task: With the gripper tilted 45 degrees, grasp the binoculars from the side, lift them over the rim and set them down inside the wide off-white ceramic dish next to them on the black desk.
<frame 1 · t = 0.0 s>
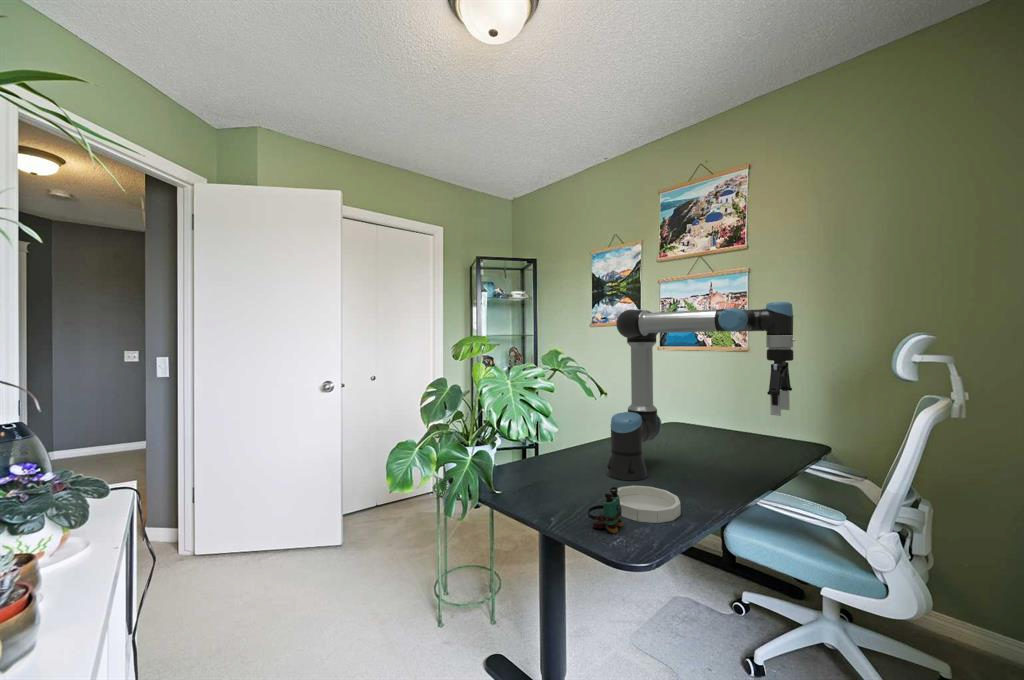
hand: (780, 412, 140), 28 cm above the table, tool pointing down, fingers open, 13 cm apart
dish: (644, 508, 131), on the table
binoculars: (604, 526, 119), on the table
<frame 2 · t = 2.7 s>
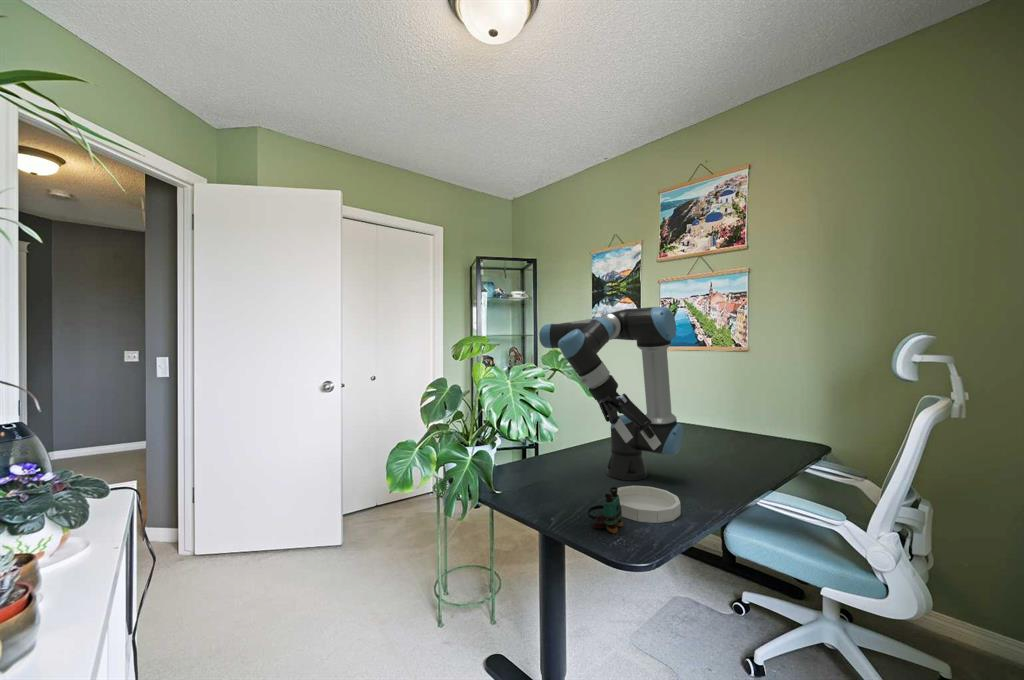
hand: (642, 443, 116), 24 cm above the table, tool tilted 35°, fingers open, 13 cm apart
nothing on the table moved.
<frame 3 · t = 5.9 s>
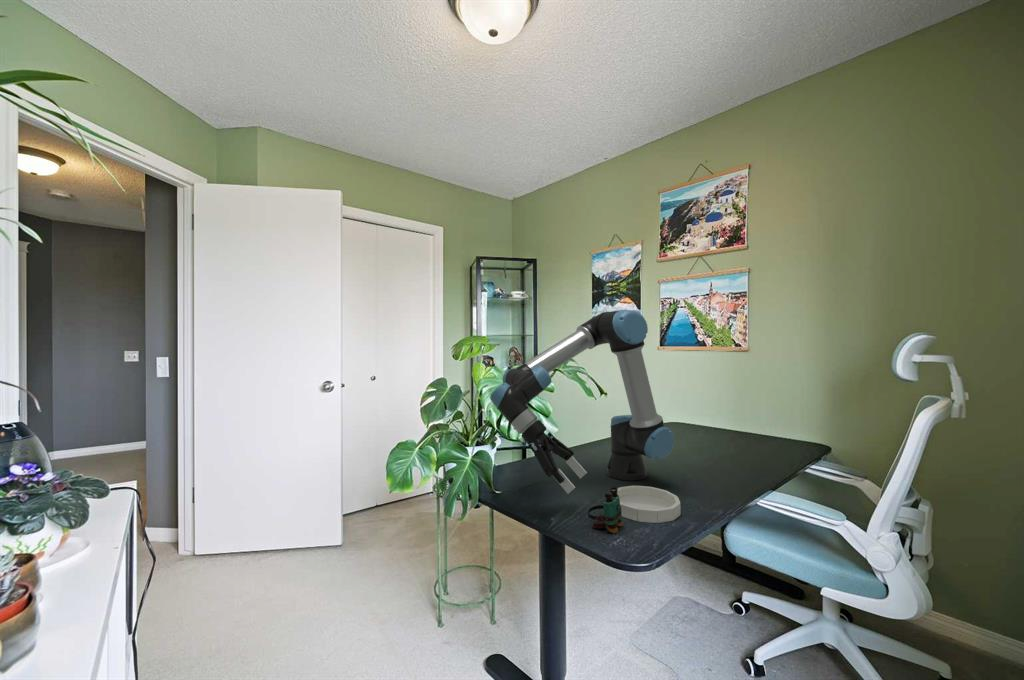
hand: (578, 482, 122), 12 cm above the table, tool tilted 45°, fingers open, 13 cm apart
nothing on the table moved.
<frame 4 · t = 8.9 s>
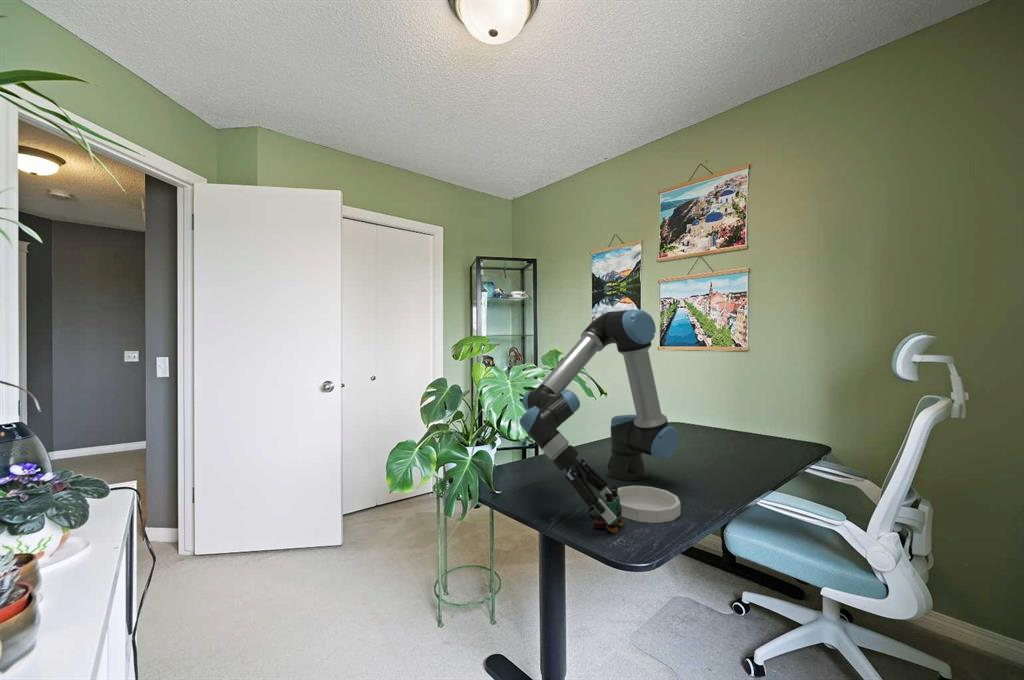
hand: (616, 514, 118), 4 cm above the table, tool tilted 45°, fingers closed on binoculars, 9 cm apart
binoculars: (604, 526, 119), on the table, touching gripper
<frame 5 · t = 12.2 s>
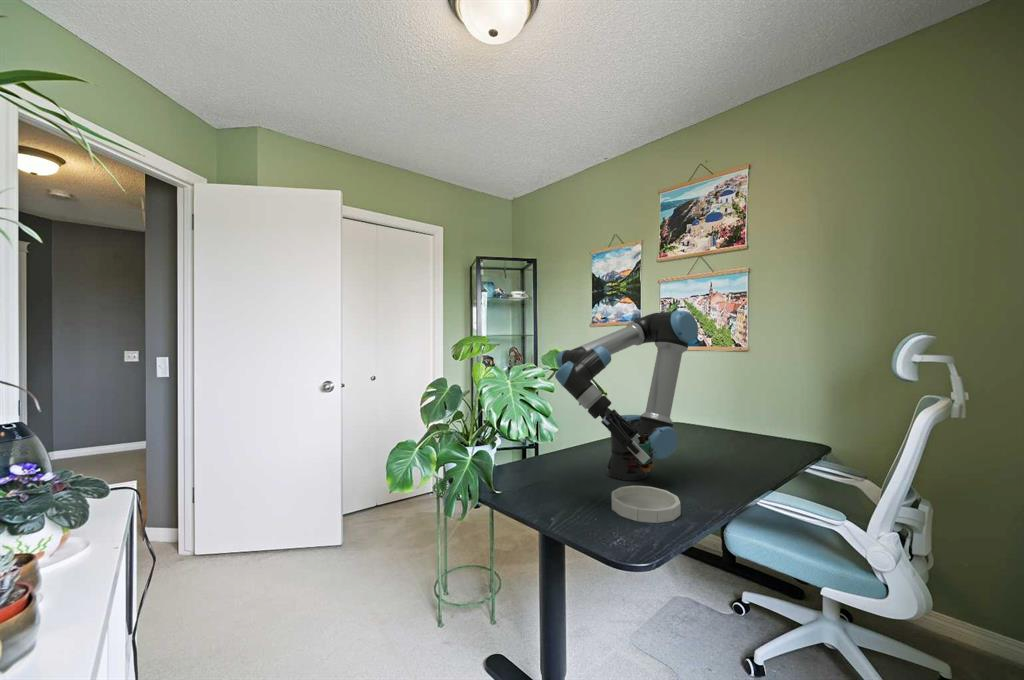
hand: (648, 456, 128), 17 cm above the table, tool tilted 45°, fingers closed on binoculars, 9 cm apart
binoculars: (637, 468, 129), point 13 cm above the table, touching gripper
when the fingers open (6 cm above the table, at t = 15.6 s): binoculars stays where it is, resting on dish.
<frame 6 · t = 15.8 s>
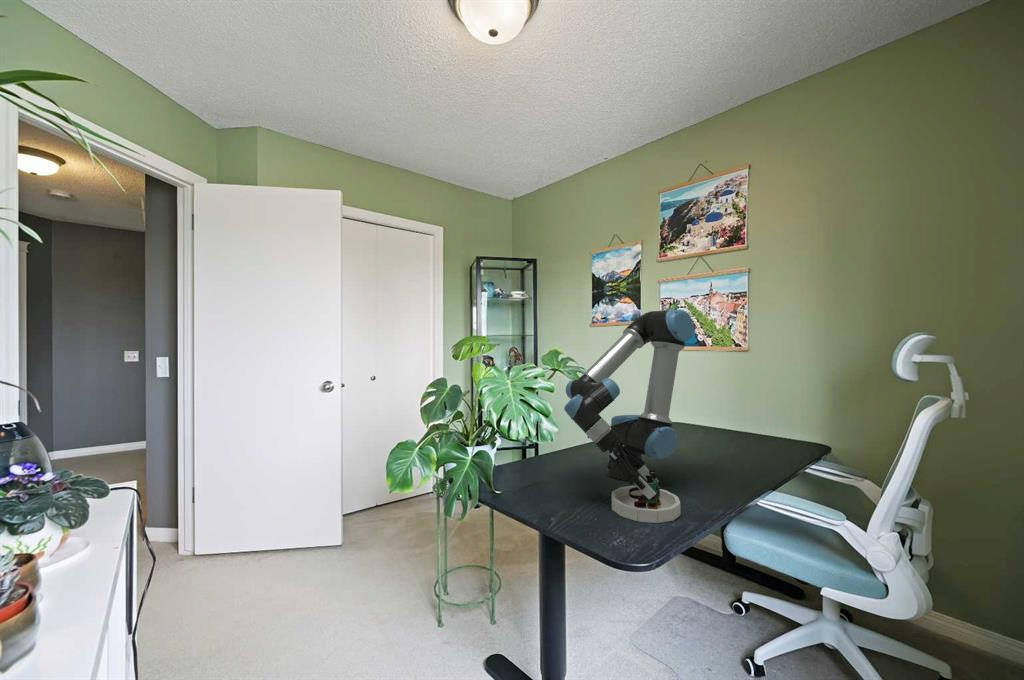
hand: (654, 490, 130), 6 cm above the table, tool tilted 45°, fingers open, 11 cm apart
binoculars: (644, 505, 131), point 1 cm above the table, touching dish
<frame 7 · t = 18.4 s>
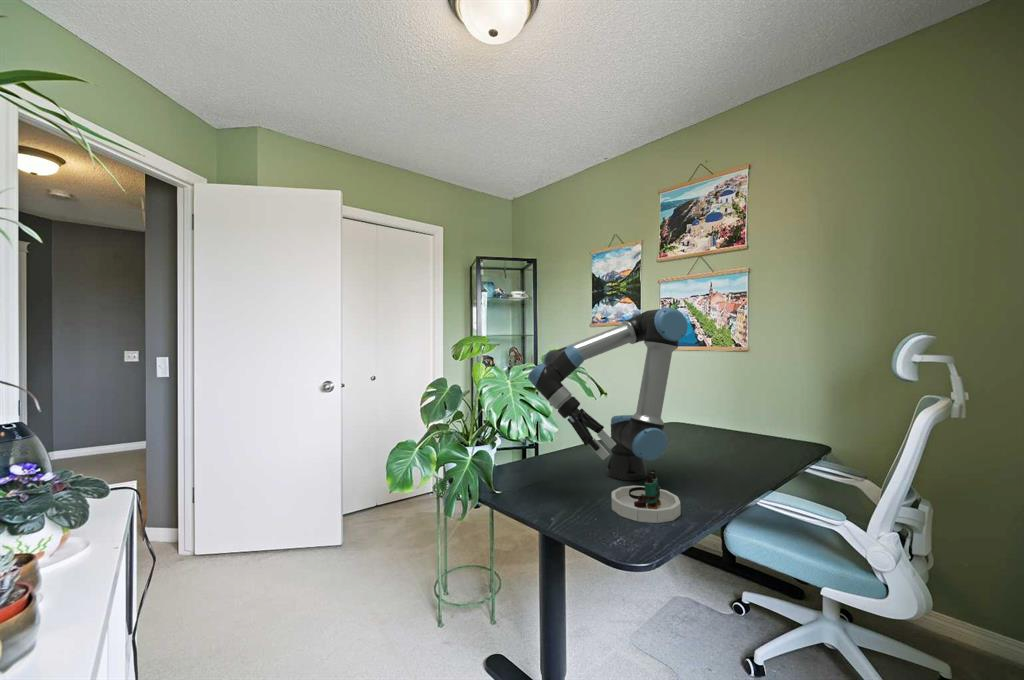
hand: (610, 451, 135), 17 cm above the table, tool tilted 45°, fingers open, 13 cm apart
nothing on the table moved.
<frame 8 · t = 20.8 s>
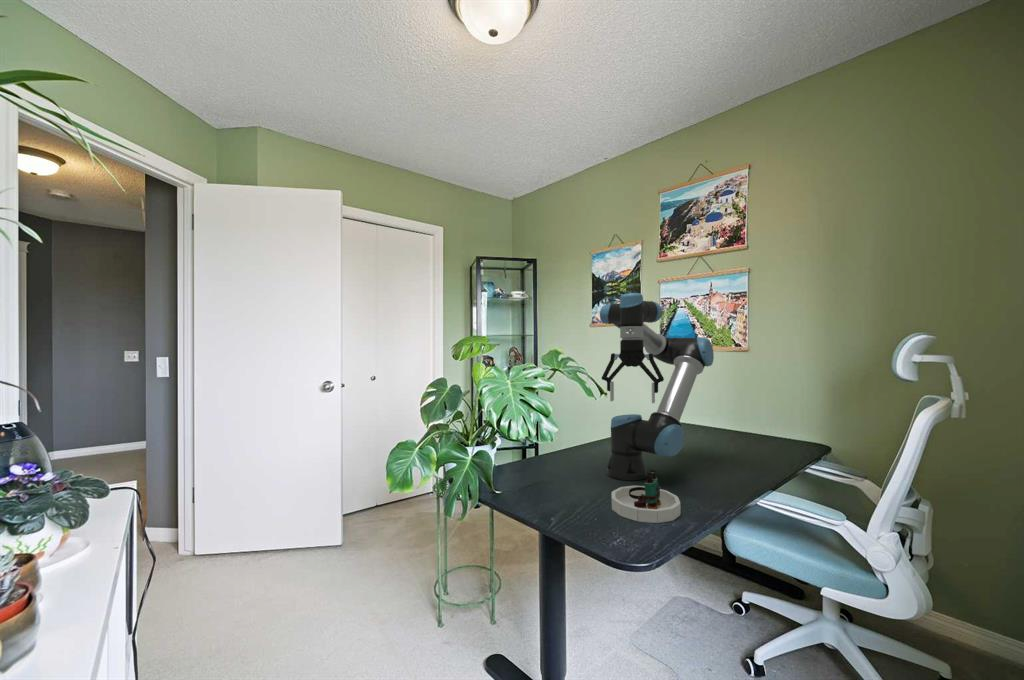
hand: (632, 401, 142), 32 cm above the table, tool pointing down, fingers open, 13 cm apart
nothing on the table moved.
at the end: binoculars inside the target area on the dish (0.1 cm from its centre), point 0.8 cm above the dish's base; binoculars tilted 1°; the gripper is holding nothing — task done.
